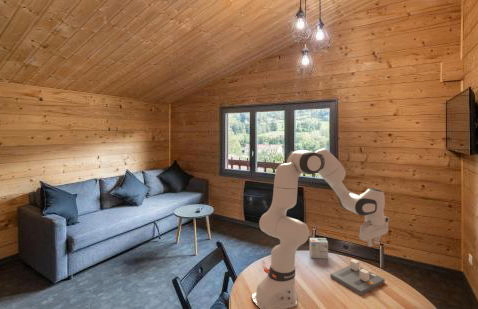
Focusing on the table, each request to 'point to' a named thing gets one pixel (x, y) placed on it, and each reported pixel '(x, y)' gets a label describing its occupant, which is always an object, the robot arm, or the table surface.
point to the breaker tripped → (364, 275)
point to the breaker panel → (356, 280)
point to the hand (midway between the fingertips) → (373, 244)
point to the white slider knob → (354, 264)
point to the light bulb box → (318, 248)
